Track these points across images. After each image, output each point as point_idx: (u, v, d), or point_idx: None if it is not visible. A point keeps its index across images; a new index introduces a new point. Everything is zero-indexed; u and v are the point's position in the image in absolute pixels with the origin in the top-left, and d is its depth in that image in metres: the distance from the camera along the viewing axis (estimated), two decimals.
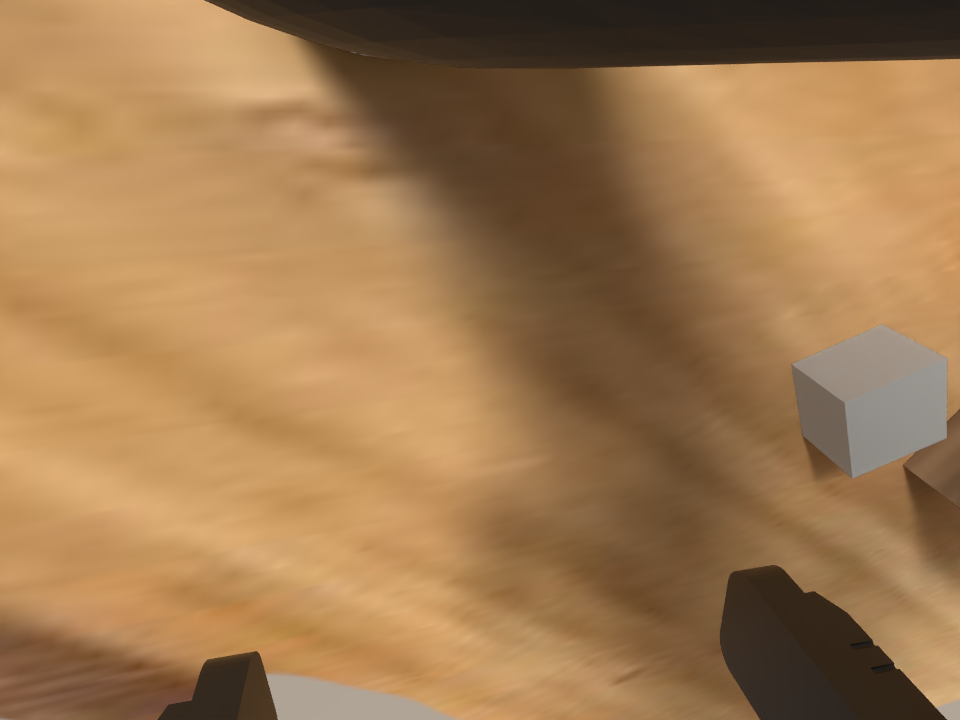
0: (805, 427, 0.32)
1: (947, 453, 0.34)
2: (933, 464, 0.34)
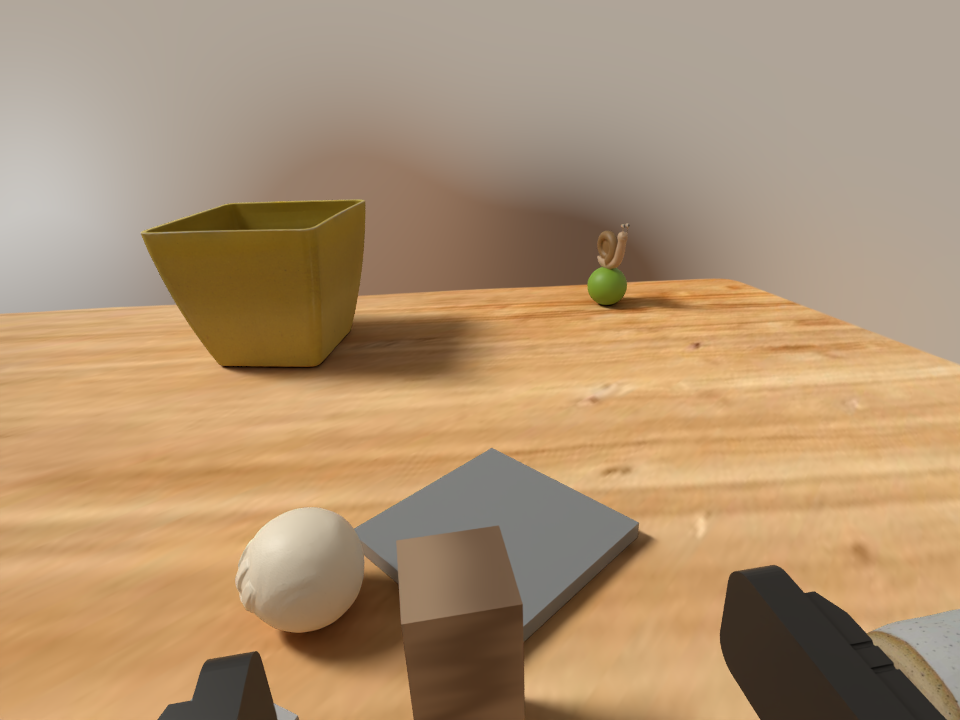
0: None
1: None
2: None
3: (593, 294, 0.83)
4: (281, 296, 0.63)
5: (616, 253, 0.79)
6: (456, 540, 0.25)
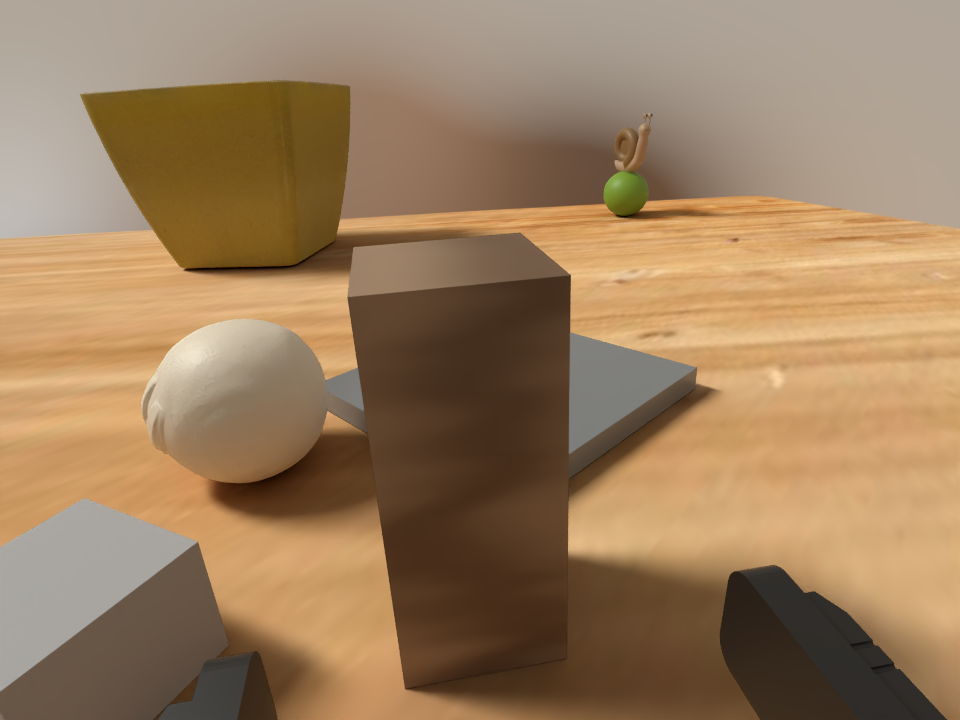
0: None
1: None
2: None
3: (611, 201, 0.73)
4: (248, 171, 0.53)
5: (637, 150, 0.70)
6: (451, 243, 0.15)
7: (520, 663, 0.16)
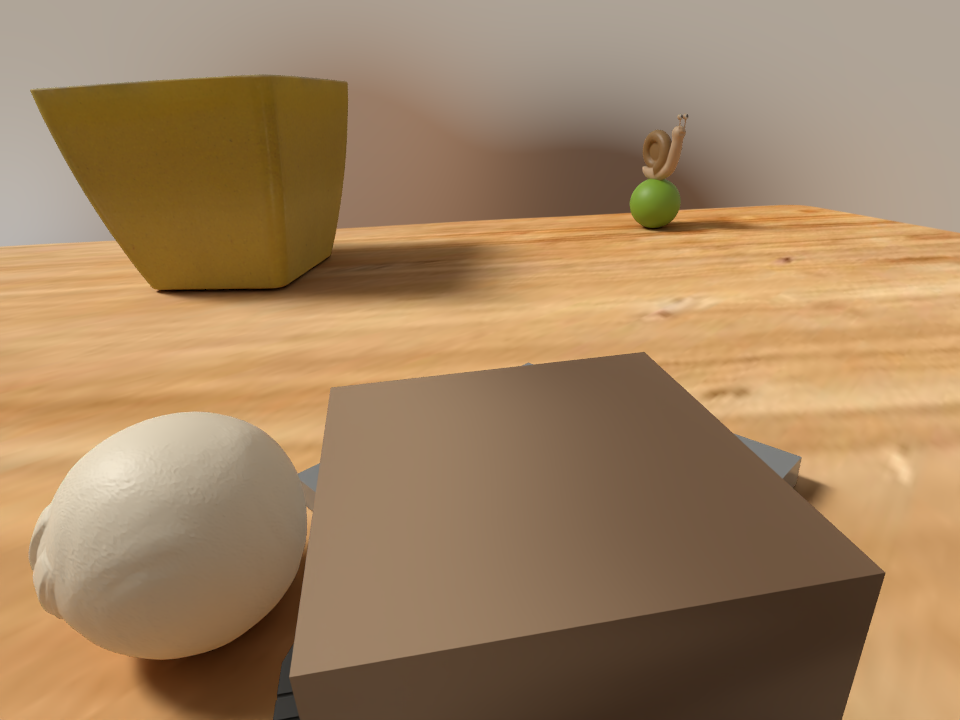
0: None
1: None
2: None
3: (639, 212, 0.65)
4: (227, 181, 0.46)
5: (670, 155, 0.62)
6: (521, 383, 0.08)
7: None
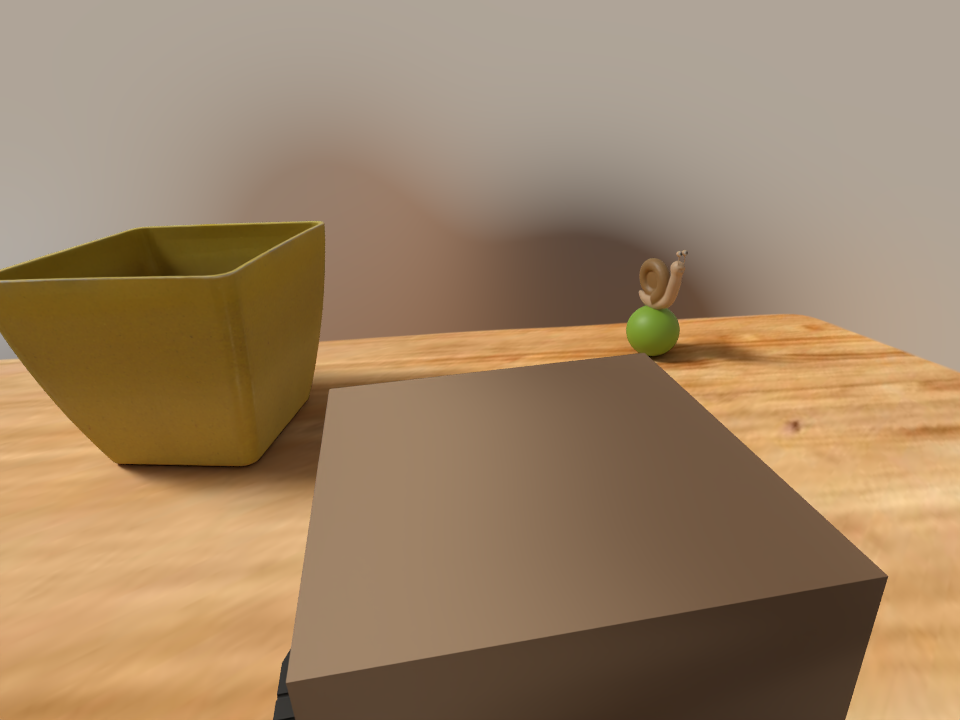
0: None
1: None
2: None
3: (635, 342, 0.62)
4: (189, 373, 0.42)
5: (668, 290, 0.58)
6: (521, 384, 0.08)
7: None
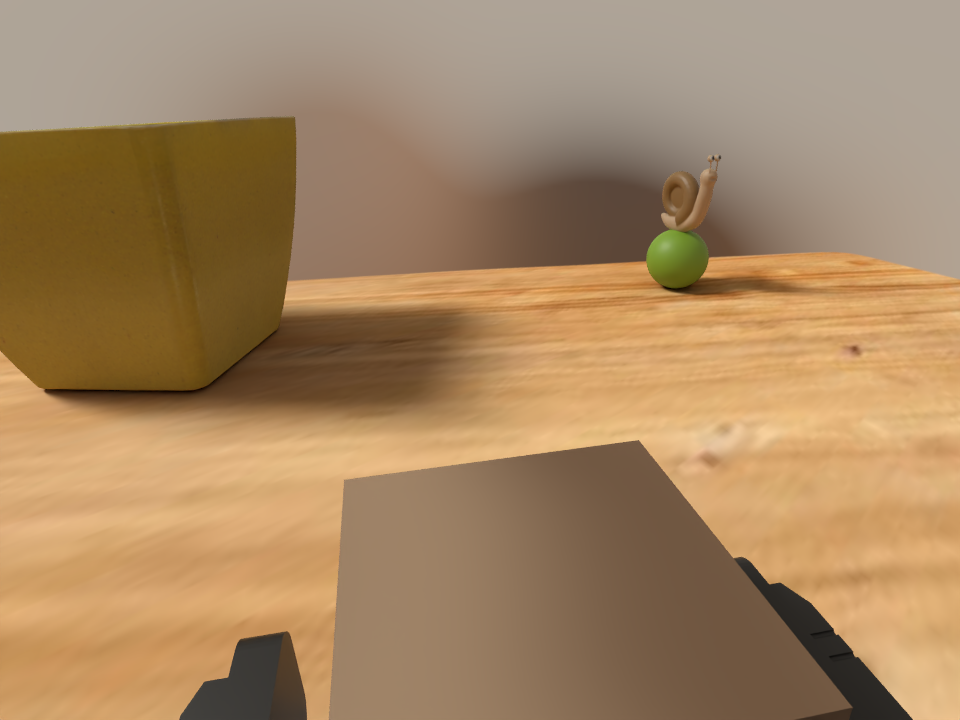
0: None
1: None
2: None
3: (657, 271, 0.54)
4: (114, 263, 0.34)
5: (697, 204, 0.50)
6: (524, 478, 0.08)
7: None
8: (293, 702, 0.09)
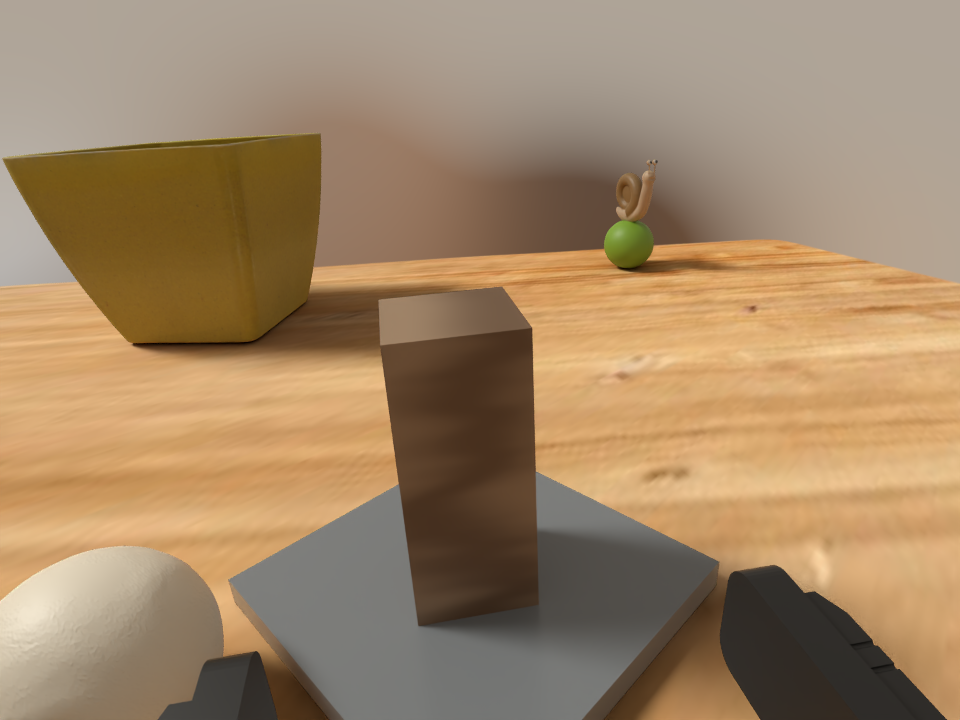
0: None
1: None
2: None
3: (612, 254, 0.66)
4: (195, 243, 0.47)
5: (640, 199, 0.63)
6: (450, 296, 0.21)
7: (503, 608, 0.22)
8: None
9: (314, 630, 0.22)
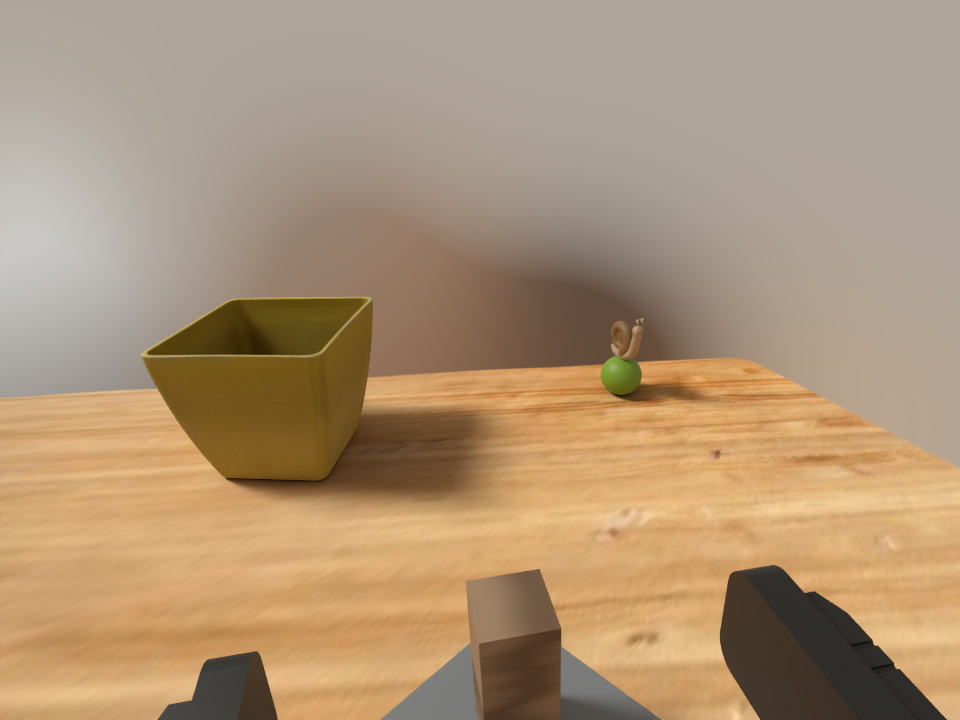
0: None
1: None
2: None
3: (607, 385, 0.80)
4: (287, 417, 0.61)
5: (631, 347, 0.77)
6: (509, 581, 0.35)
7: None
8: None
9: None
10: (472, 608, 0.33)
